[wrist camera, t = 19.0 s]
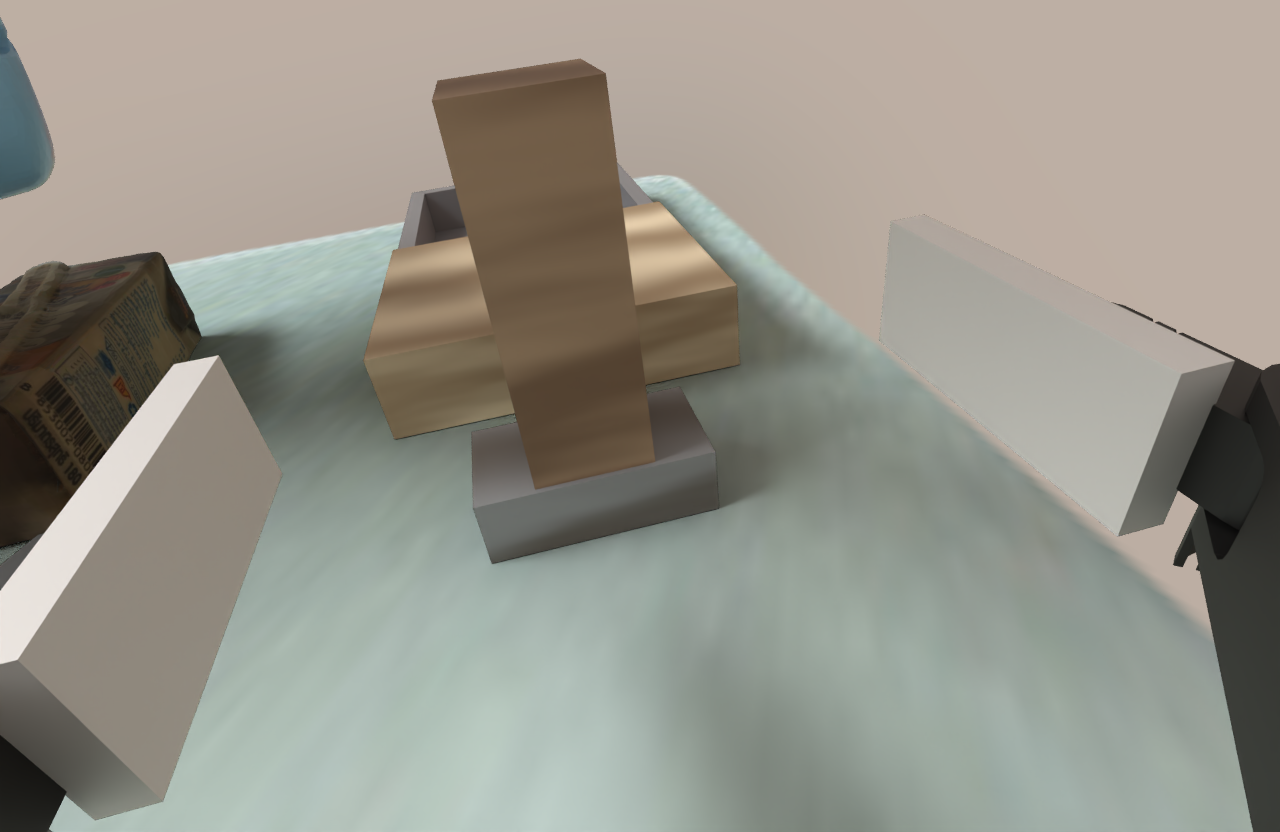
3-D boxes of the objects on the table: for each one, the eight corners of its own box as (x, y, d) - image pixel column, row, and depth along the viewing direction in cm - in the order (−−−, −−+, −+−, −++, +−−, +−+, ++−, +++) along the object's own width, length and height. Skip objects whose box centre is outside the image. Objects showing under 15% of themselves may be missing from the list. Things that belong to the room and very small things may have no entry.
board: (739, 364, 31) (736, 285, 29) (394, 439, 29) (362, 360, 27) (665, 263, 43) (659, 201, 40) (413, 312, 41) (392, 250, 39)
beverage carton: (214, 335, 42) (160, 234, 38) (99, 535, 27) (-10, 397, 23) (76, 365, 41) (6, 262, 37) (-131, 594, 25) (-287, 457, 21)
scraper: (719, 508, 23) (690, 61, 15) (491, 563, 22) (339, 116, 14) (684, 438, 27) (647, 47, 19) (487, 483, 26) (364, 91, 18)
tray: (663, 262, 43) (658, 208, 41) (413, 310, 41) (396, 256, 39) (619, 201, 55) (613, 157, 53) (425, 236, 53) (412, 192, 51)
